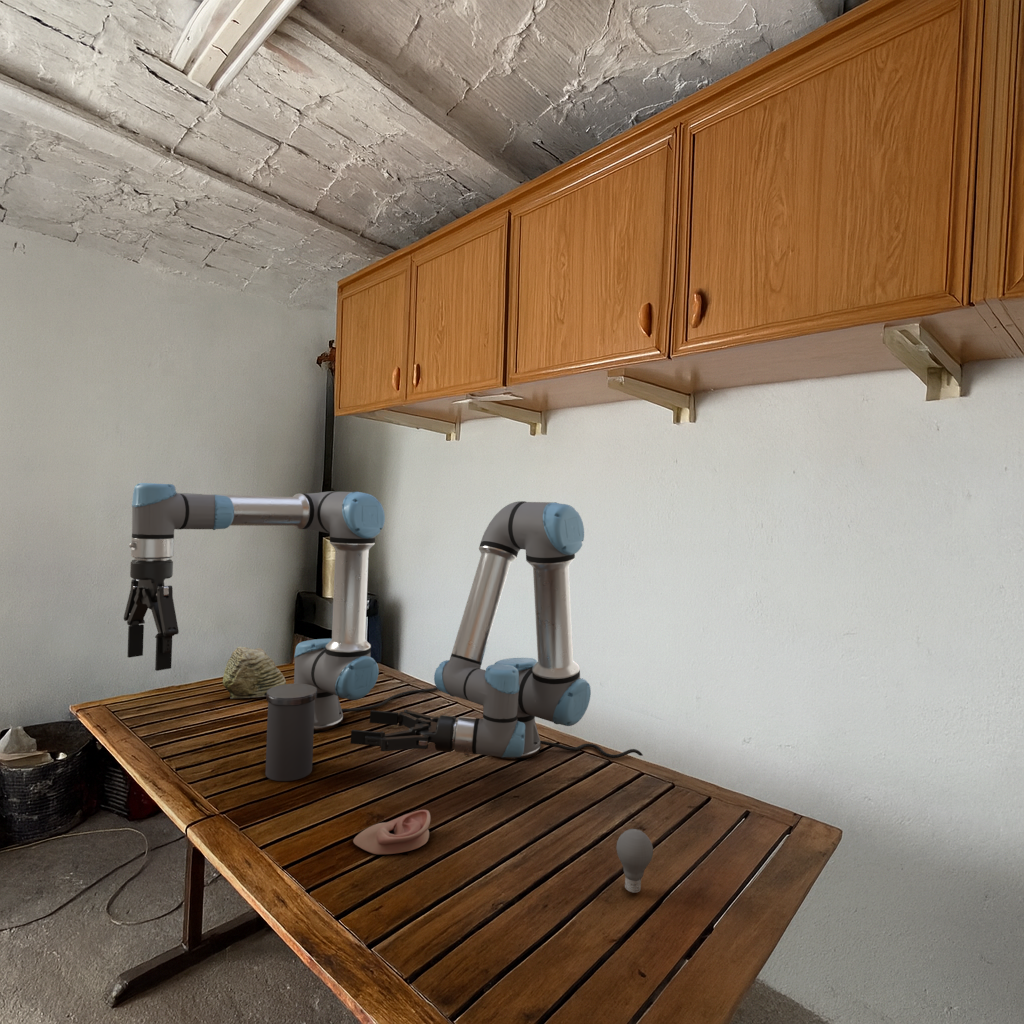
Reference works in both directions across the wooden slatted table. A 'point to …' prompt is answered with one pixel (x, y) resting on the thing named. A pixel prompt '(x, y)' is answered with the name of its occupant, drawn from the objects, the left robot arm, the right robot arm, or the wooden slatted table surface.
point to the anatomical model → (396, 834)
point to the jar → (289, 741)
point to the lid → (291, 694)
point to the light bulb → (634, 857)
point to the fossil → (251, 673)
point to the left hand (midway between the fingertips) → (148, 662)
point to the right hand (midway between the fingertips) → (361, 726)
